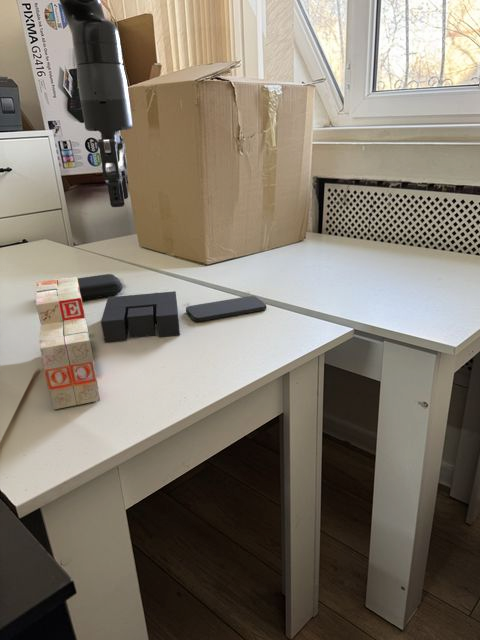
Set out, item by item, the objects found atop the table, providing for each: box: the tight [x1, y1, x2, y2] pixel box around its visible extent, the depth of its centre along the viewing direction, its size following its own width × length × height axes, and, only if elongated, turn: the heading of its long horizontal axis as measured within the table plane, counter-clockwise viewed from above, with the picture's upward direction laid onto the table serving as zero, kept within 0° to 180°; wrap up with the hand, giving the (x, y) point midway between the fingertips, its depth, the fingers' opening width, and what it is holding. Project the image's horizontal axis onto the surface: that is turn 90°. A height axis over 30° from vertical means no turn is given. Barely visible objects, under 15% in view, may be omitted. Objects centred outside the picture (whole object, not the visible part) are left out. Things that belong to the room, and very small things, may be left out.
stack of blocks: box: [35, 276, 101, 410], centre depth 75 cm, size 21×6×12 cm, turn 21°
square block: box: [127, 306, 157, 339], centre depth 91 cm, size 4×4×4 cm
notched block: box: [100, 290, 181, 343], centre depth 94 cm, size 13×13×4 cm
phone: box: [185, 295, 267, 322], centre depth 100 cm, size 7×1×15 cm
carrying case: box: [77, 273, 124, 301], centre depth 112 cm, size 11×3×15 cm
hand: (120, 202), depth 87 cm, fingers open, 8 cm apart
